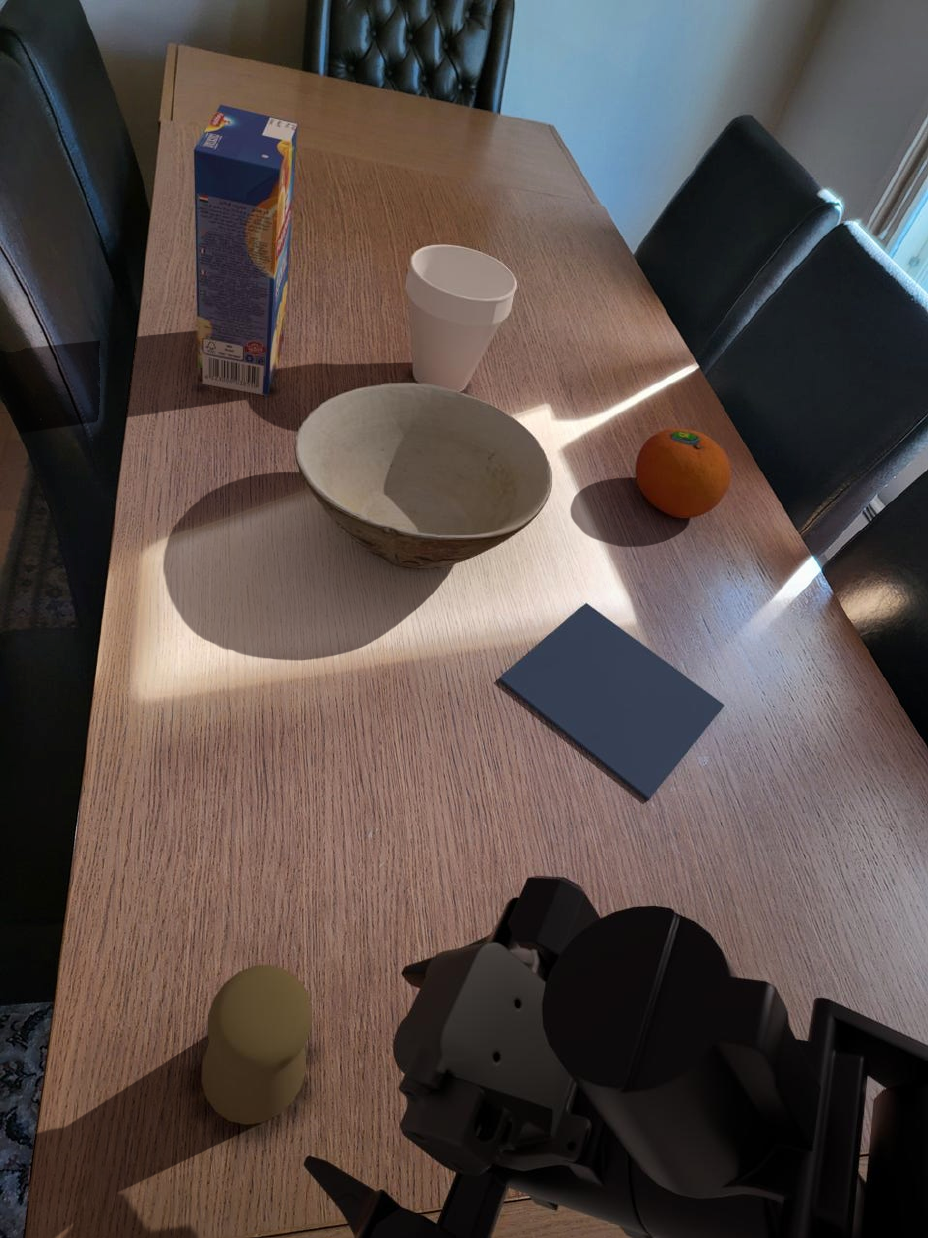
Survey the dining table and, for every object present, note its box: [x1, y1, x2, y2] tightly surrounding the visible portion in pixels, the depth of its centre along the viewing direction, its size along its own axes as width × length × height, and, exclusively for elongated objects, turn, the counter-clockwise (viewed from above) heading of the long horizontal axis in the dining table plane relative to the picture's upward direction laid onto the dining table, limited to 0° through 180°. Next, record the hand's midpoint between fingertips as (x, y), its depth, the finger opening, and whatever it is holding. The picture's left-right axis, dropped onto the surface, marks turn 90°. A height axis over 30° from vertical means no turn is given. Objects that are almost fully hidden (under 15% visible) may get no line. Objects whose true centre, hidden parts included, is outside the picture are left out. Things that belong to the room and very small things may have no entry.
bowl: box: [293, 382, 553, 569], centre depth 79 cm, size 24×24×10 cm
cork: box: [200, 964, 313, 1126], centre depth 45 cm, size 6×6×11 cm
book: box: [498, 602, 725, 802], centre depth 74 cm, size 16×14×1 cm
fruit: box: [635, 428, 732, 519], centre depth 92 cm, size 11×10×8 cm
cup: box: [404, 244, 518, 393], centre depth 96 cm, size 12×12×14 cm
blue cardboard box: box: [193, 104, 299, 397], centre depth 86 cm, size 12×8×24 cm, turn 0°
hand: (361, 1063), depth 40 cm, fingers open, 9 cm apart
